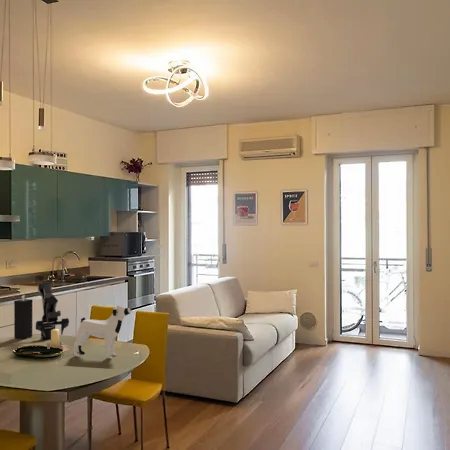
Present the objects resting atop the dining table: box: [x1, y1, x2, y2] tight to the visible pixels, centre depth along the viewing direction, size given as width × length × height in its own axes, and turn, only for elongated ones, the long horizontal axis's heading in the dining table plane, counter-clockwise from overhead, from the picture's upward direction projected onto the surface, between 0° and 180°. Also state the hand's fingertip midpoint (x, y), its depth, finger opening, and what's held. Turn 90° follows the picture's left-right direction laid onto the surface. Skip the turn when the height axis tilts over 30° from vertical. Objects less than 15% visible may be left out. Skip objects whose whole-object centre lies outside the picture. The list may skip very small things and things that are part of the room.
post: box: [50, 328, 60, 348], centre depth 271 cm, size 4×4×11 cm
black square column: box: [13, 294, 33, 340], centre depth 302 cm, size 8×8×28 cm
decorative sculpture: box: [73, 305, 132, 360], centre depth 259 cm, size 10×32×30 cm, turn 78°
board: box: [33, 341, 70, 354], centre depth 269 cm, size 26×14×4 cm, turn 112°
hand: (53, 335), depth 275 cm, fingers open, 9 cm apart
